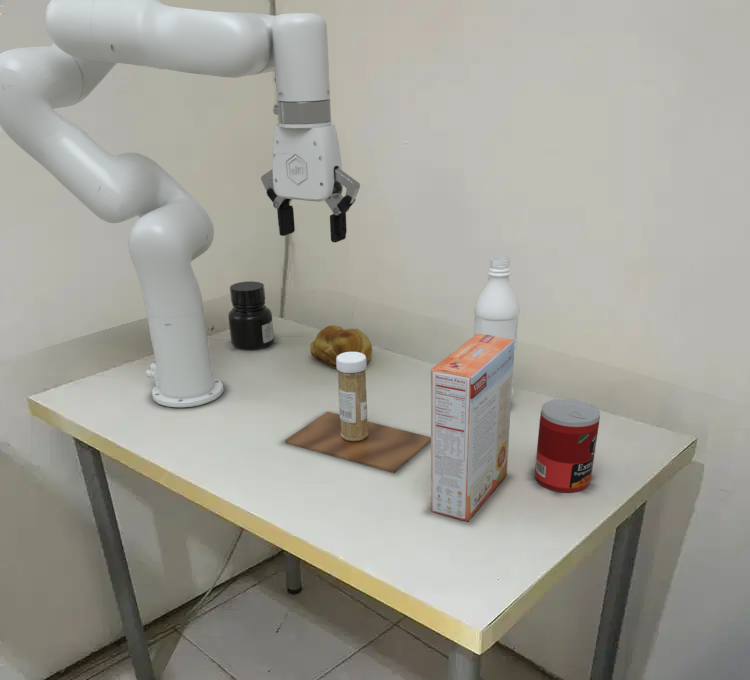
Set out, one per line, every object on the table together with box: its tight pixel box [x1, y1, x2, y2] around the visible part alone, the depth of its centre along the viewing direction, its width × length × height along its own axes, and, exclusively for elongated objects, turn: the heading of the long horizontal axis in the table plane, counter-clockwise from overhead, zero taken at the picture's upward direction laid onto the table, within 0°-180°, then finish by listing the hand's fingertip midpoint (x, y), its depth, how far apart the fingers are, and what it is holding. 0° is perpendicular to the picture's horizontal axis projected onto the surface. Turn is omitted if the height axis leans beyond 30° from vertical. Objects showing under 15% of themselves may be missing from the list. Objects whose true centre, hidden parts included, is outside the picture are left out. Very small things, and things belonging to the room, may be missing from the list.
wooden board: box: [284, 411, 431, 474], centre depth 122 cm, size 20×12×1 cm, turn 59°
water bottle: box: [473, 255, 520, 401], centre depth 126 cm, size 7×7×25 cm
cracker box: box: [430, 334, 515, 522], centre depth 102 cm, size 14×6×21 cm, turn 150°
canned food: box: [534, 398, 601, 493], centre depth 108 cm, size 8×8×11 cm
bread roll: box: [309, 325, 373, 369], centre depth 149 cm, size 13×10×8 cm
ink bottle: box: [227, 280, 275, 351], centre depth 158 cm, size 10×9×12 cm
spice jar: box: [336, 352, 368, 442], centre depth 119 cm, size 5×5×13 cm
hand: (312, 237), depth 120 cm, fingers open, 9 cm apart
